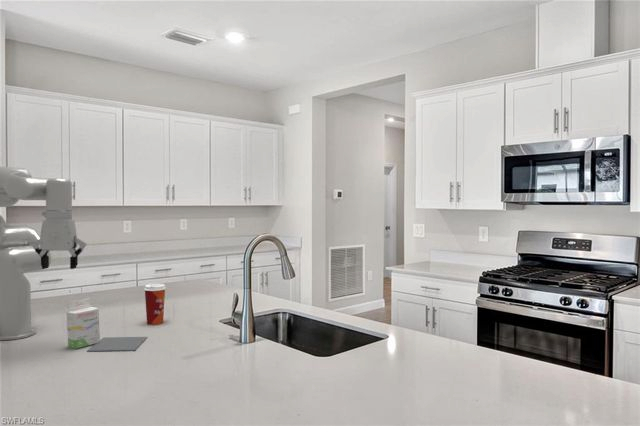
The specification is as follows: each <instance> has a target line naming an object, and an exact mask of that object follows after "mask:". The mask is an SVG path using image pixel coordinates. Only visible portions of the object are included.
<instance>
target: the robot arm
mask: <svg viewBox="0 0 640 426" xmlns="http://www.w3.org/2000/svg"><path fill="white" fill-rule="evenodd" d="M72 185H73V184H72V181H71V180H70V179H68V178H49V177H33V176H32V174H31V173H30V171H29V170H27V169H25V168H24V167H23V168H22V167H13V166H12V167H11V166H0V208H8V207H13V206H14V205H16V204H17V203H18V202H20V200H21V201H45V210H44V212H43V211H42V212H41V216H42V217H44V218H45V219H43V220H42V224H41V228H40V233H38V232H37V231H36V229H35V228H34V227H32V226H31V225H27V224H15V225H14V224H13V225H11V224H8V223H7V222H6V220H5V219H4V217H3V216H2V215H1V214H0V341H9V340H18V339H19V340H21V339H25V338H28V337H31V336H33V335H35V334H36V333H37V328H35V327H32V306H31V305H32V297H31V296H32V295H31V294H32V291H31V283H30V281H29V279H28V278H27V277H26V276H25V274H24V273H29V272H37V271H42V270H45V269H48V268H49V267H50V265H51V262H52V255H51V252H52V251H56V252H57V251H58V252H59V251H61V252H62V251H63V252H65V251H68V252H69V254H70V255H71V256H70V257H69V260H70V261H69V268H70V270H73V269H76V268H77V266H78V262H79V261H78V258H79V255H80V254H81V253H82V252H83V251H84V249H85V248H86V246H87V243H86V242H84V241H83V240H81V239H79V238H78V236H77V235H78V234H77V227H76V224H75V220H74V219H73V193H72V192H73V186H72ZM78 245H79V247H78ZM77 247H78V248H77ZM76 248H77V249H76Z"/></svg>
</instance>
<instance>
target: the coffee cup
mask: <svg viewBox="0 0 640 426" xmlns="http://www.w3.org/2000/svg"><path fill="white" fill-rule="evenodd" d="M166 289H167V288H166V284H164V283H149V284H146V285H145V286H144V289H143V290H144V299H145V313H146V324H147V325H151V326H155V325H161V324H163V322H164V315H165V313H164V312H165V298H166Z"/></svg>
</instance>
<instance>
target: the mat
mask: <svg viewBox="0 0 640 426" xmlns="http://www.w3.org/2000/svg"><path fill="white" fill-rule="evenodd" d="M147 339H148V336H117V337H116V336H115V337H114V336H113V337H111V336H110V337H102V338H100V342H99V343H95V344H92V346H91V347H90V348H88V349H87V350H86V352H87V353H95V352H97V353H98V352H99V353H100V352H102V353H103V352H106V353H107V352H136V351H137V350H138V349H139V348H140V346H141V345H142V344H143V343H144V342H145V341H146V340H147Z"/></svg>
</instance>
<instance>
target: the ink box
mask: <svg viewBox="0 0 640 426" xmlns="http://www.w3.org/2000/svg"><path fill="white" fill-rule="evenodd" d="M78 304H80V305H78ZM99 315H100V314H99V308H98V307H94V306H92V299H91V298H90V297H89V298H84V299H80V300H79V299H78V300H72V301H69V302H67V303H66V326H67V346H68V347H69V348H72V349H75V350H77V349H80V348H83V347H87V346H88V347H89V346H91V345H95V344H96V343H99V342H100V340H101V336H100V318H99V317H100V316H99Z"/></svg>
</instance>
